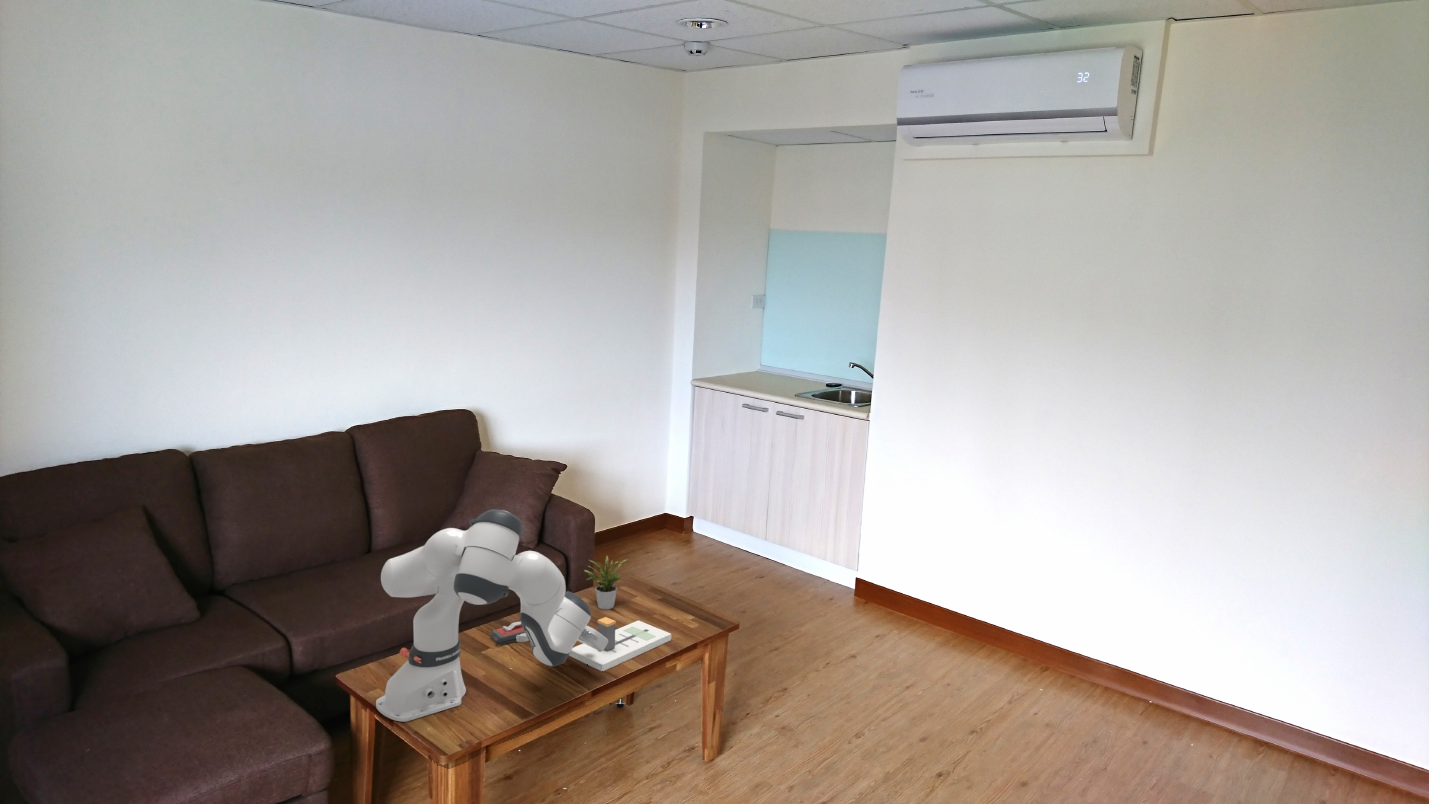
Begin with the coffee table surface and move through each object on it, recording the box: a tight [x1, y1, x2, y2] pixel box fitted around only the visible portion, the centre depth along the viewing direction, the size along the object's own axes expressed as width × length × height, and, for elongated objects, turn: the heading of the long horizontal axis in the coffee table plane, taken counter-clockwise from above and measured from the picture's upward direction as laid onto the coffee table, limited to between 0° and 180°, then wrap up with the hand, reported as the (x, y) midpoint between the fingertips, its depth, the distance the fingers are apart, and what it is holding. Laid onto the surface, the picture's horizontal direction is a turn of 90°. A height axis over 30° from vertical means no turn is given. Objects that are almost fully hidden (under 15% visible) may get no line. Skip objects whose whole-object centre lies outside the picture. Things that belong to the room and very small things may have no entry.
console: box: [568, 619, 672, 672], centre depth 267 cm, size 28×14×2 cm, turn 140°
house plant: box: [583, 555, 629, 610], centre depth 297 cm, size 14×14×16 cm
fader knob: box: [597, 616, 617, 651], centre depth 262 cm, size 3×4×8 cm
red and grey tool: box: [491, 620, 530, 646], centre depth 274 cm, size 9×4×20 cm
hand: (591, 643), depth 258 cm, fingers closed
